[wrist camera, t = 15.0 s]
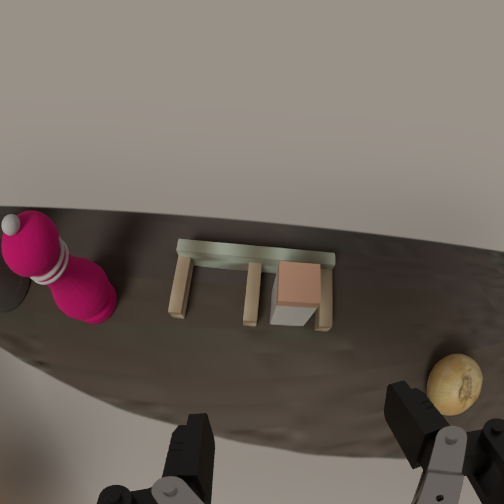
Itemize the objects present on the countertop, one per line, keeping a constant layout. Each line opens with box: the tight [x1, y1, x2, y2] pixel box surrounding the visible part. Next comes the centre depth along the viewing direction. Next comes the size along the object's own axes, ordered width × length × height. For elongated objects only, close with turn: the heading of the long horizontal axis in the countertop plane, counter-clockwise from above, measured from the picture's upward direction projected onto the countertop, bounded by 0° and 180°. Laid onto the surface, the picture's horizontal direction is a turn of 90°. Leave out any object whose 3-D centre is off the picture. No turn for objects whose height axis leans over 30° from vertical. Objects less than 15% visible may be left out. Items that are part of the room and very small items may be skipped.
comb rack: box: [168, 239, 335, 331], centre depth 36 cm, size 18×8×4 cm, turn 85°
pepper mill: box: [1, 210, 117, 324], centre depth 28 cm, size 7×7×20 cm
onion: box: [427, 354, 483, 415], centre depth 30 cm, size 8×8×7 cm
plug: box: [270, 261, 321, 326], centre depth 33 cm, size 4×4×9 cm
